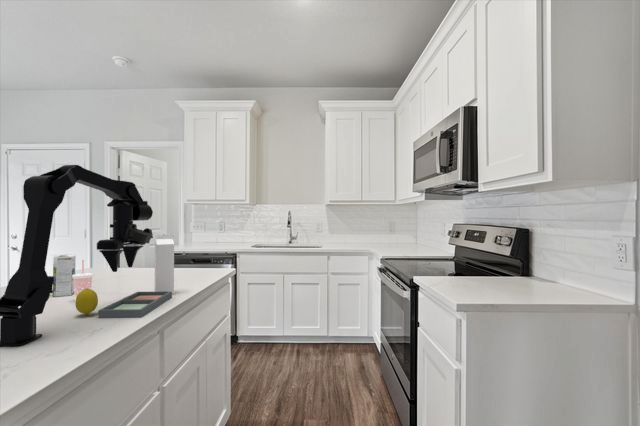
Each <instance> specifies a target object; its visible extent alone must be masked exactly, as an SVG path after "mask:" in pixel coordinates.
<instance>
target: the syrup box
mask: <svg viewBox="0 0 640 426" xmlns="http://www.w3.org/2000/svg"><path fill="white" fill-rule="evenodd" d="M76 257H77V256H76V254H59V255H56V256H53V264H52V265H53V266H52V267H53V269H52V270H53V271H52V276H53V277H54V282H53V285H52V291H53V293H52V297H53V298H57V297H67V296H73V294H74V283H73V278H72V275H74V274H76Z"/></svg>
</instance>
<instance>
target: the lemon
mask: <svg viewBox="0 0 640 426" xmlns="http://www.w3.org/2000/svg"><path fill="white" fill-rule="evenodd" d="M98 297H99V296H98V294H97V292H96V291H94V290H93V289H89V288H86V289H85V290H83V291H81V292H80V293H79V294H78V295H77V297H76V301H75V300H74V302H75V308H76V311H78V312H79V313H80V314H84V316H88V315H89V314H90V313H92V312H94V311H95V310H96V308H97V307H98V303H99V298H98Z"/></svg>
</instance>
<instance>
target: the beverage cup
mask: <svg viewBox="0 0 640 426" xmlns="http://www.w3.org/2000/svg"><path fill="white" fill-rule="evenodd" d="M84 263H85V260H84V259H81V273H75V274H74V275H72V278H73V283H74V293H73V294H74V295H73V297H74V302H75V301H76V297H77V295H78V294H79V293H80V292H81V291H83V290H85V289H86V288H89V289H91V290H93V289H92V284H93V277H94V273H92V272H85V269H84V268H85V267H84V265H85V264H84Z"/></svg>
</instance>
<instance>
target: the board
mask: <svg viewBox="0 0 640 426" xmlns="http://www.w3.org/2000/svg"><path fill="white" fill-rule="evenodd" d="M172 298H173V295H172V291H162V292H155V291H136V292H134V293H132V294H130V295H127V296H126V297H123V298H121V299H119V300H117V301H115V302H113V303H111V304H109V305H107V306H105V307H102V308H100V309H98V312H97V313H98V314H97V316H98V319H116V318H117V319H120V318H121V319H122V318H123V319H125V318H126V319H129V318H143V317H145V316H147V314H149V313H150V312H152V311H153V310H155V309H156V308H159V306H161V305H163V304H164V303H166V302H167V301H169V300H170V299H172Z"/></svg>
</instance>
